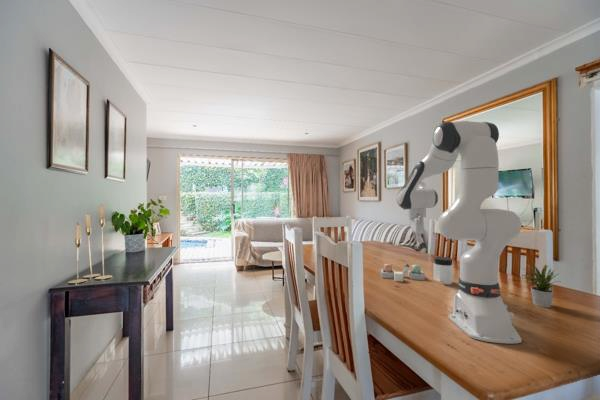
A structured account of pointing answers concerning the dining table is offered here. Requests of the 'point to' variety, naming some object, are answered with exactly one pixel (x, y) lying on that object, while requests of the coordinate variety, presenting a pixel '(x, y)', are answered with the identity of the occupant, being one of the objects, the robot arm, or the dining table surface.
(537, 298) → the house plant
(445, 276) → the jar
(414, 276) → the panel
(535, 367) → the dining table surface
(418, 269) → the green button
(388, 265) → the terracotta button
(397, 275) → the slider knob
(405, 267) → the ball-tipped lever
